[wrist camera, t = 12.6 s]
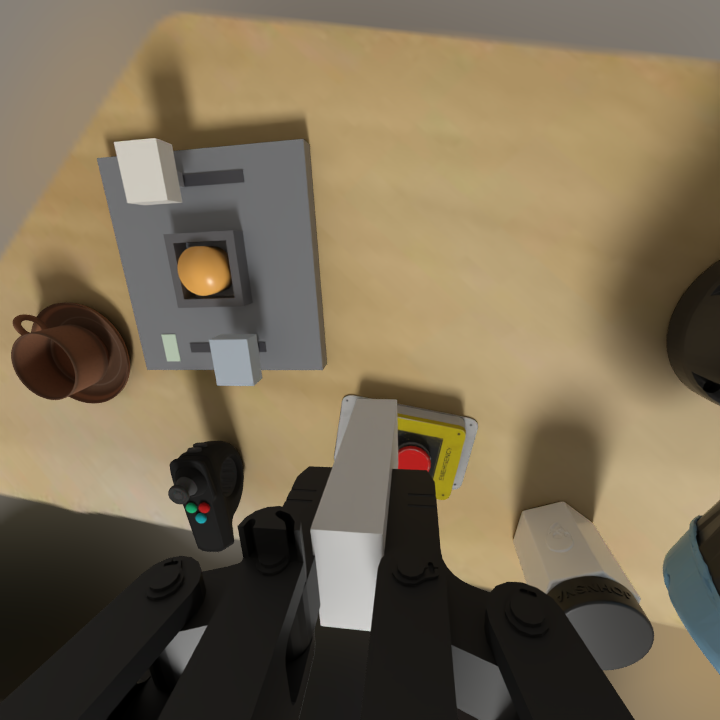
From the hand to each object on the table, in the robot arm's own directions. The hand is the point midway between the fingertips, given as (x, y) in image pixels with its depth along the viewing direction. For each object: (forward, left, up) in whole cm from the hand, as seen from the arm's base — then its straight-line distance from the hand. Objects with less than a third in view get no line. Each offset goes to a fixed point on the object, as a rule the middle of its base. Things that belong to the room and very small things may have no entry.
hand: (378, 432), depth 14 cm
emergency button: (0, +15, -25) cm, 29 cm away
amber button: (+18, -5, -22) cm, 29 cm away
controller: (+21, +19, -25) cm, 38 cm away
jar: (-17, +26, -25) cm, 40 cm away
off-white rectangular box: (+20, -13, -22) cm, 33 cm away
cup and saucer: (+37, +4, -25) cm, 44 cm away
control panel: (+18, -5, -24) cm, 31 cm away
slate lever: (+15, +3, -22) cm, 27 cm away
